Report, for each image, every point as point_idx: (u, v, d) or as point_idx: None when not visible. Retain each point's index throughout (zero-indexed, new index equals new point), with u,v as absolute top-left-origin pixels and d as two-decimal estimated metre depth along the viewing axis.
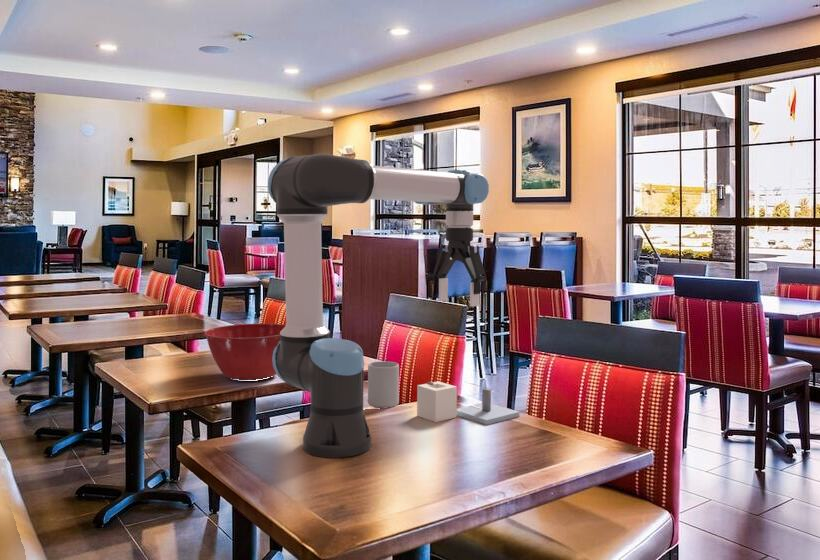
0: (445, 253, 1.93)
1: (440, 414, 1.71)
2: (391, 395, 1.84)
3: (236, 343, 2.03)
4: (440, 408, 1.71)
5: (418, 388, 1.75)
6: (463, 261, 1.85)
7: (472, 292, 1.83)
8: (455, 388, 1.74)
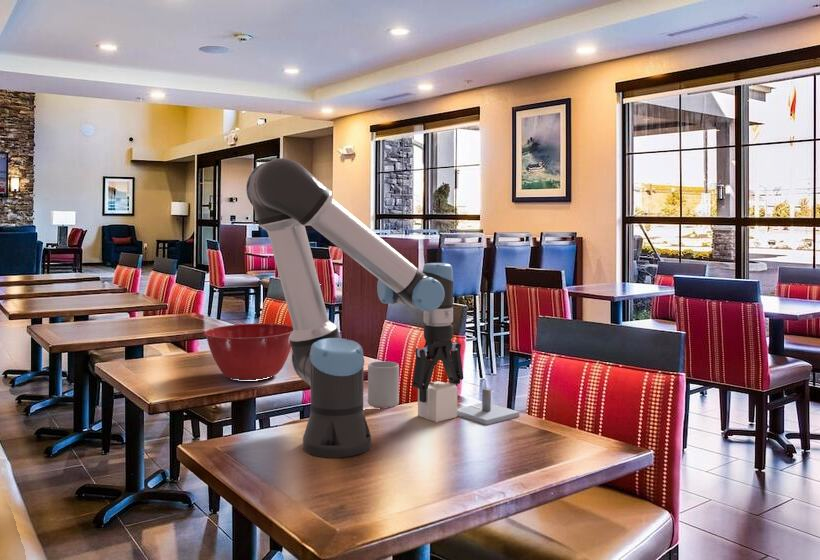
0: (453, 353, 1.78)
1: (441, 414, 1.72)
2: (391, 395, 1.84)
3: (236, 343, 2.03)
4: (441, 408, 1.71)
5: None
6: None
7: None
8: (456, 388, 1.74)
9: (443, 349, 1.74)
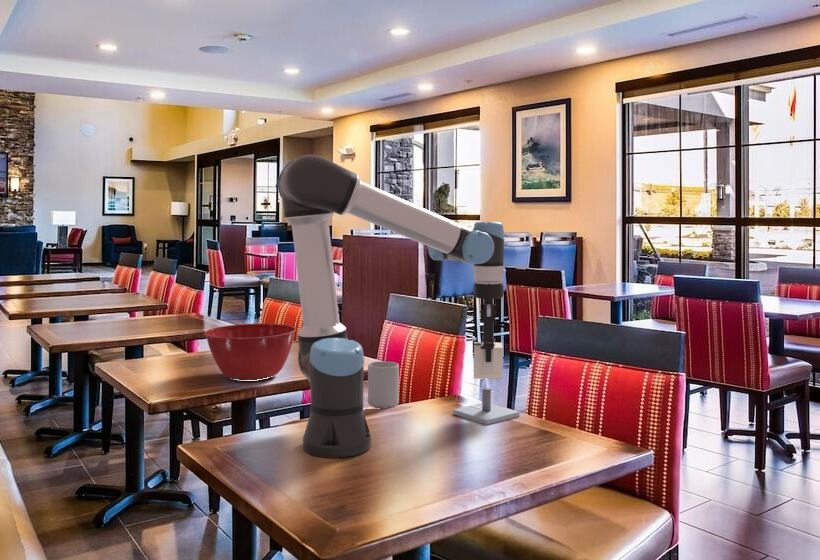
0: None
1: None
2: (391, 395, 1.84)
3: (236, 343, 2.03)
4: None
5: (476, 350, 1.72)
6: None
7: (483, 359, 1.72)
8: (501, 344, 1.78)
9: (492, 306, 1.75)
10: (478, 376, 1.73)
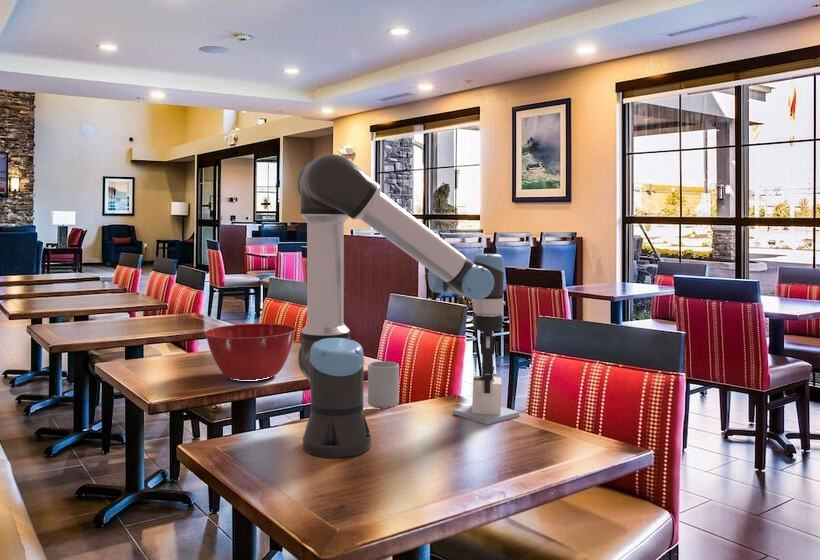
0: None
1: None
2: (391, 395, 1.84)
3: (236, 343, 2.03)
4: None
5: (475, 385, 1.73)
6: (481, 353, 1.73)
7: (482, 390, 1.71)
8: None
9: (492, 338, 1.76)
10: (476, 411, 1.74)
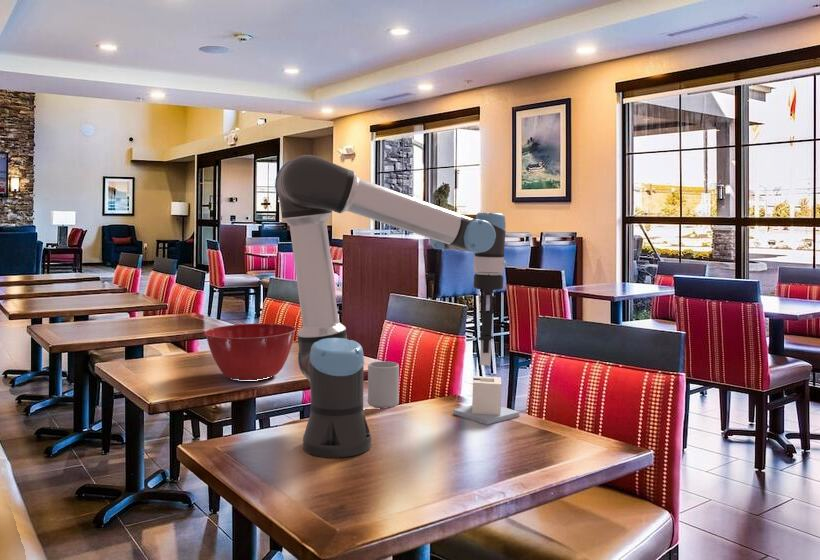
0: None
1: None
2: (391, 395, 1.84)
3: (236, 343, 2.03)
4: None
5: (475, 385, 1.73)
6: None
7: (481, 350, 1.75)
8: (500, 379, 1.79)
9: (492, 297, 1.75)
10: (476, 411, 1.74)
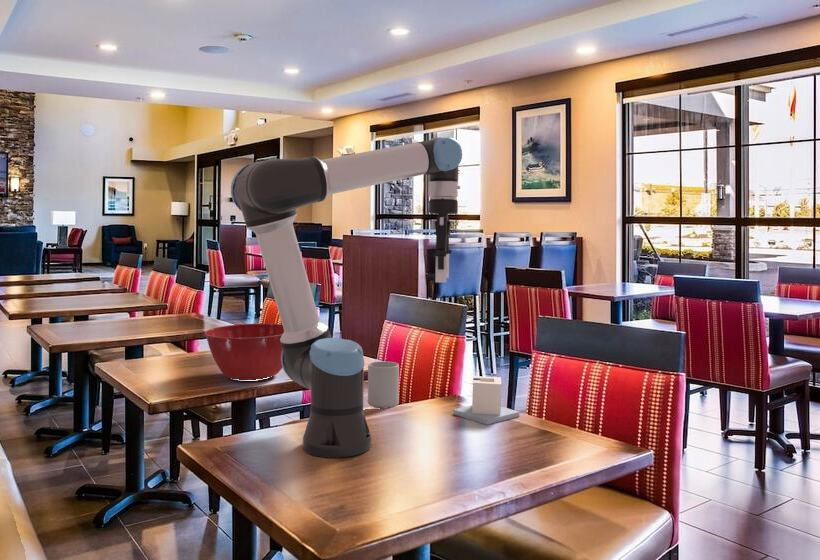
0: None
1: None
2: (391, 395, 1.84)
3: (236, 343, 2.03)
4: None
5: (475, 385, 1.73)
6: None
7: (436, 267, 1.71)
8: (500, 379, 1.79)
9: None
10: (476, 411, 1.74)
